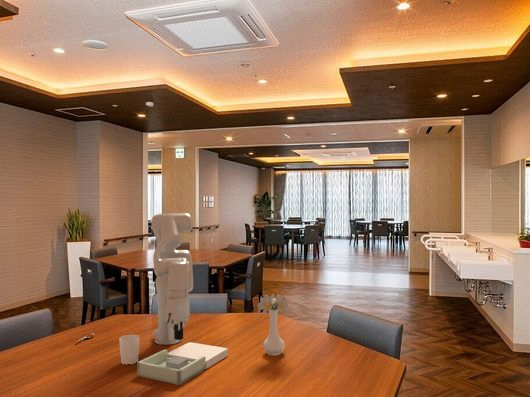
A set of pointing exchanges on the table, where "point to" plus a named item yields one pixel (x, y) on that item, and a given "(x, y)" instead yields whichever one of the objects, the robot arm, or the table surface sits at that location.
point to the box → (169, 369)
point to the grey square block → (177, 363)
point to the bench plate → (199, 353)
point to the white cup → (129, 349)
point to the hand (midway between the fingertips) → (178, 338)
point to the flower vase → (273, 322)
